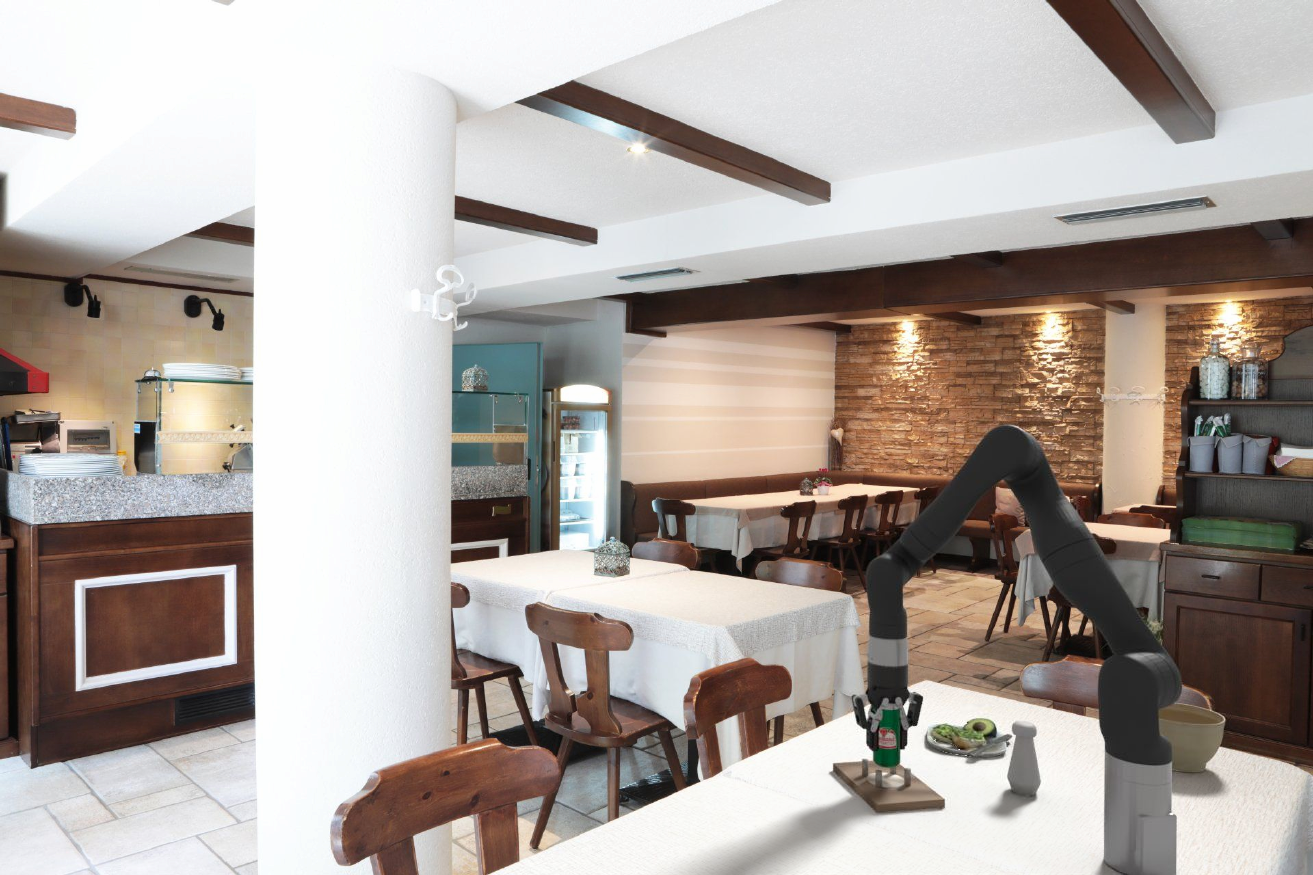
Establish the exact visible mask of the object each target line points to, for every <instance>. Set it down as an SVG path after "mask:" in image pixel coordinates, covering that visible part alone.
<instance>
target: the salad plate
mask: <svg viewBox="0 0 1313 875" xmlns="http://www.w3.org/2000/svg"><path fill="white" fill-rule="evenodd" d="M1012 738H1013V734H1009V733H1006V734H1003V733H1001V732H999V731H998V730H997V725H996V724H995V722H994V721H993V720H991V719H988V718H983V717H980V718H979V717H978V718H972V719H970V720H967V721H966V724H964V725H963V726H961V725H956V724H948V723H947V722H946V723H938V724H937V723H936V724H933V725H930V726H929V727H928V728H927V730H926V740H927V743H928V744H929V745H930V746H932V747H933V748H934V749H935V748H936V749H935V750H937V749H938V750H937V751H939V750H940V752H942V751H944V752H943V753H945V752H947V753H946V754H948V753H952V754H951V755H953V754H958V755H957V756H961V755H967V756H966V757H969V756H971V757H970V758H989V757H995V755H996V756H999V755H1003V754H1004V753H1005V752H1006V751H1007V749H1008V747H1007V742H1008V741H1010V740H1011V739H1012ZM935 739H938V740H937V741H940V740H942V741H944V742H943V743H946V742H949V743H948V744H950V743H952V744H951V745H953V744H954V745H953V746H955V745H956V746H957V748H958V749H960V750H957V749H956V748H955V749H954V748H951V747H947V746H944V745H941V744H939V743H938V742H937V743H938V744H937V743H936V742H935V741H934V740H935ZM942 741H941V742H942ZM956 746H955V747H956ZM988 756H989V757H988Z"/></svg>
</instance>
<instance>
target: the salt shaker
mask: <svg viewBox="0 0 1313 875" xmlns="http://www.w3.org/2000/svg"><path fill="white" fill-rule="evenodd" d="M1011 732H1012V735H1014V736H1015V738H1014V742H1013V748H1012V752H1011V758H1010V761H1009V767H1008V770H1007V776H1006V777H1007V780H1008V784H1009V785H1010V788H1011V791H1012V792H1013V793H1015V794H1017V795H1019V796H1026V797H1032V796H1034V795H1036V794H1037V792H1038V790H1039V788H1040V786H1041V784H1042V783H1041V782H1042V779H1041V774H1040V769H1039V763H1038V757H1037V751H1036V747H1035V741H1034V738H1036V737H1037V734H1038V730H1037V726H1036V725H1035V724H1034V723H1033V722H1030V721H1026V720H1016V721H1014V722H1013V723H1012V725H1011Z"/></svg>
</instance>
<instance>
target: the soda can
mask: <svg viewBox="0 0 1313 875" xmlns="http://www.w3.org/2000/svg"><path fill="white" fill-rule="evenodd" d="M900 709H901V708H899V707H897V705H896V703H895V702H891V703H888V705H887V707H884V709H883V710H882V709H881V710H882V720H881V721H880V722H879V724H878V727H877V730H876V732H877V751H872V760H873V761H874V762H875V764H877V765H878V766H881V767H885V768H893V767H897V766H898V765H899V764H900V765H901V750H900V749H901V719H900ZM876 712H877V711H876V710H875V709H873V713H874V714H876Z"/></svg>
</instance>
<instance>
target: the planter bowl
mask: <svg viewBox="0 0 1313 875" xmlns="http://www.w3.org/2000/svg"><path fill="white" fill-rule="evenodd" d="M1225 725H1226V718H1225V716H1224V715H1222V714H1221V713H1219V712H1216V711H1213V710H1212V709H1211V710H1210V709H1207V708H1204V707H1202V706H1201V707H1200V706H1196V705H1192V704H1185V703H1181V702H1180V703H1179V702H1175V703H1174V704H1172V705H1170V706H1168V707H1165V708H1161V709H1159V731H1160V735H1162V736H1164V737H1166V738H1167V739H1168V740H1169V741H1170V742H1171V745H1172V771H1178V772H1183V773H1201V772H1204V771H1205V770H1206V768H1207V764H1209V762H1210V761H1211V760H1212V759H1213V758H1214V757H1215V755H1216V754H1217V752H1218V751H1219V748H1220V747H1221V744H1222V741H1223V738H1224V729H1225Z"/></svg>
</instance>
